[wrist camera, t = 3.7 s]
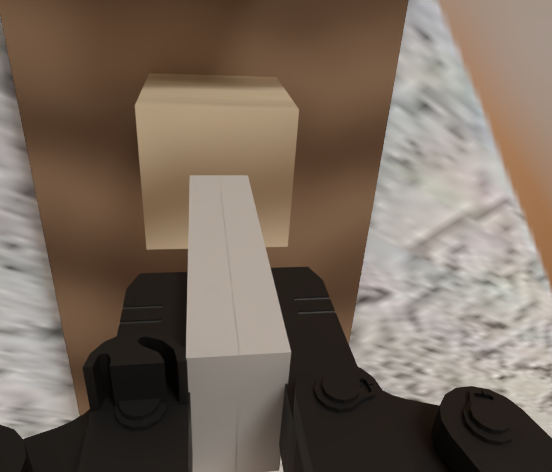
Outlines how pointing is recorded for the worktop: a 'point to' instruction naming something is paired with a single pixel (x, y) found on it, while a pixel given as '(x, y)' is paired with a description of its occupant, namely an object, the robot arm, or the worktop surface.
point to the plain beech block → (214, 148)
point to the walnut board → (124, 144)
